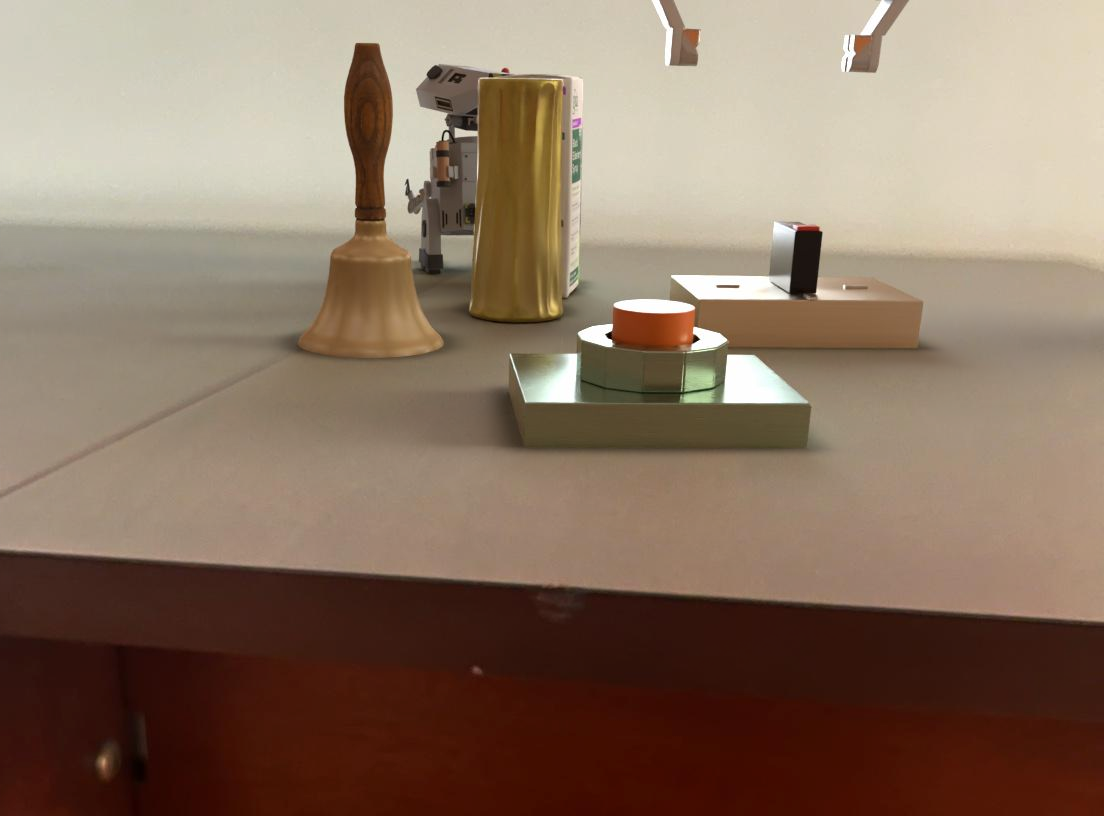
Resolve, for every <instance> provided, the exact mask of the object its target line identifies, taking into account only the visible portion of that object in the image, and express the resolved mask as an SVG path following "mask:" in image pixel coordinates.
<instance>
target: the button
mask: <svg viewBox="0 0 1104 816" xmlns="http://www.w3.org/2000/svg"><path fill="white" fill-rule="evenodd" d="M694 320H695V307H694V306H692V305H690V304H686V303H682V302H676V301H670V300H666V299H645V298H644V299H627V300H620V301H618V302H615V303H613V305H612V322H611V324H612V340H613V341H617V342H620V343H627V344H636V345H645V346H679V345H687V344H693V334H694Z"/></svg>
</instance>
